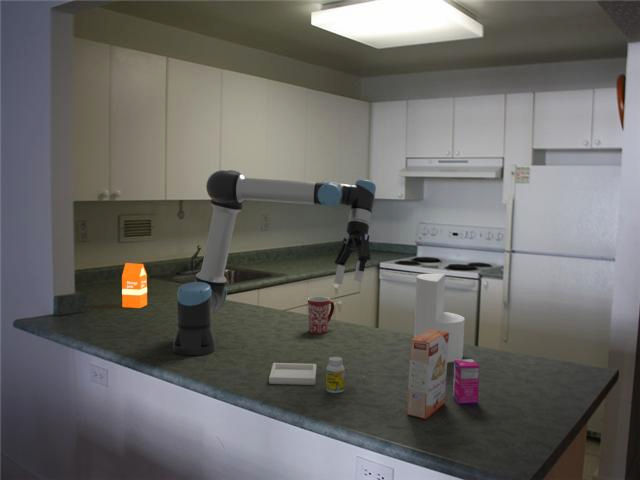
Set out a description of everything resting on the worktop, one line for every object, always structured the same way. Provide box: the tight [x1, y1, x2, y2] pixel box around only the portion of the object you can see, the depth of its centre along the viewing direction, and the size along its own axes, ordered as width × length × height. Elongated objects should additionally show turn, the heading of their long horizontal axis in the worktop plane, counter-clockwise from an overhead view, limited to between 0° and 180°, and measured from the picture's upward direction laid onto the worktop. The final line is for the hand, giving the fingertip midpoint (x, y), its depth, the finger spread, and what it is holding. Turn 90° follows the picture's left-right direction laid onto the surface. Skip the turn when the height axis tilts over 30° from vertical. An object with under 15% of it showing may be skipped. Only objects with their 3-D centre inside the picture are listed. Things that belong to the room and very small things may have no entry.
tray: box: [268, 362, 317, 386], centre depth 190 cm, size 14×14×2 cm
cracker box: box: [406, 329, 449, 420], centre depth 165 cm, size 14×6×21 cm, turn 147°
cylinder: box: [413, 273, 465, 363], centre depth 215 cm, size 17×17×28 cm
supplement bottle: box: [325, 356, 346, 394], centre depth 179 cm, size 5×5×10 cm
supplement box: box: [452, 358, 480, 406], centre depth 172 cm, size 6×6×12 cm
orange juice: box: [121, 262, 148, 309], centre depth 283 cm, size 8×9×20 cm
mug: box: [307, 296, 335, 335], centre depth 245 cm, size 13×9×14 cm
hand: (347, 282), depth 207 cm, fingers open, 13 cm apart
